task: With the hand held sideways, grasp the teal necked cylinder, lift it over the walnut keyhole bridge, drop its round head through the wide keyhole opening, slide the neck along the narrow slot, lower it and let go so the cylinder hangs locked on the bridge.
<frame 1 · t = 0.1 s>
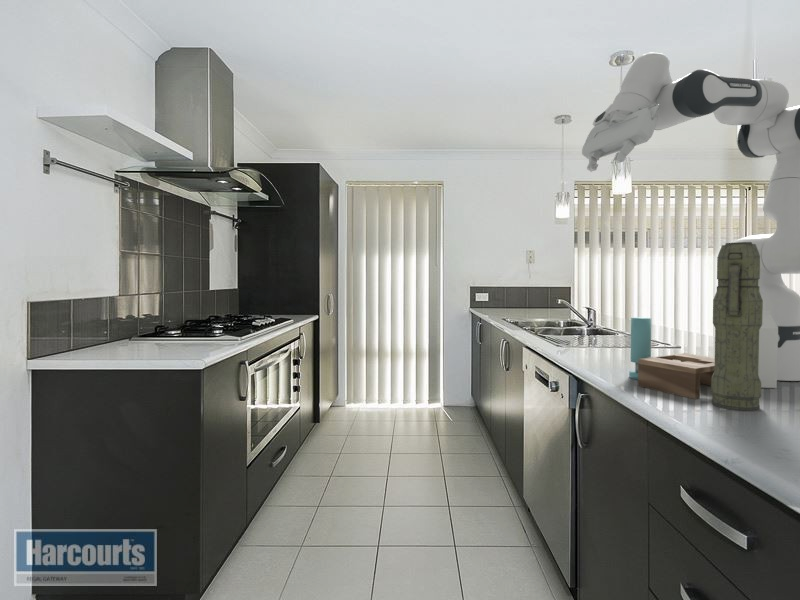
hand: (604, 165, 117), 54 cm above the countertop, tool tilted 30°, fingers open, 8 cm apart
teal necked cylinder: (640, 377, 136), on the countertop
keyhole bridge: (689, 388, 123), on the countertop
milk carton: (753, 385, 126), on the countertop
thermos: (735, 406, 107), on the countertop
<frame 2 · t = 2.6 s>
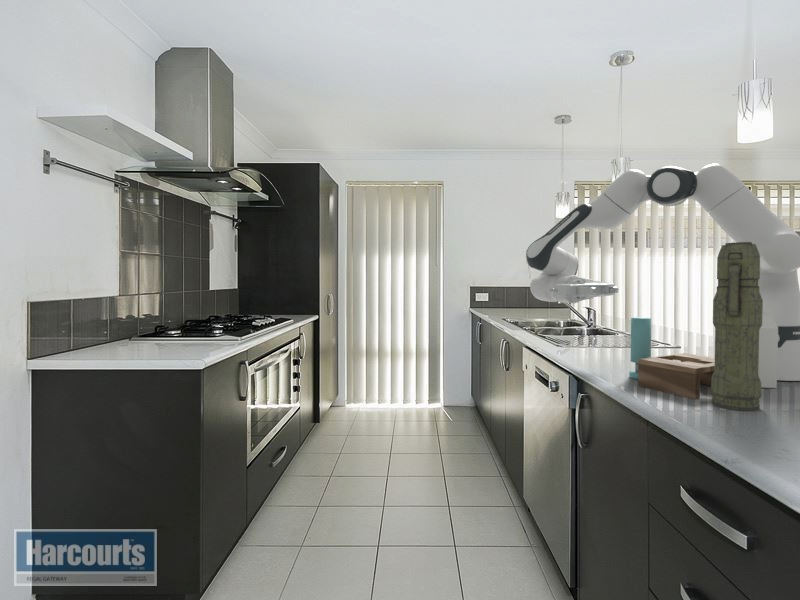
hand: (605, 290, 146), 24 cm above the countertop, tool horizontal, fingers open, 8 cm apart
nothing on the countertop moved.
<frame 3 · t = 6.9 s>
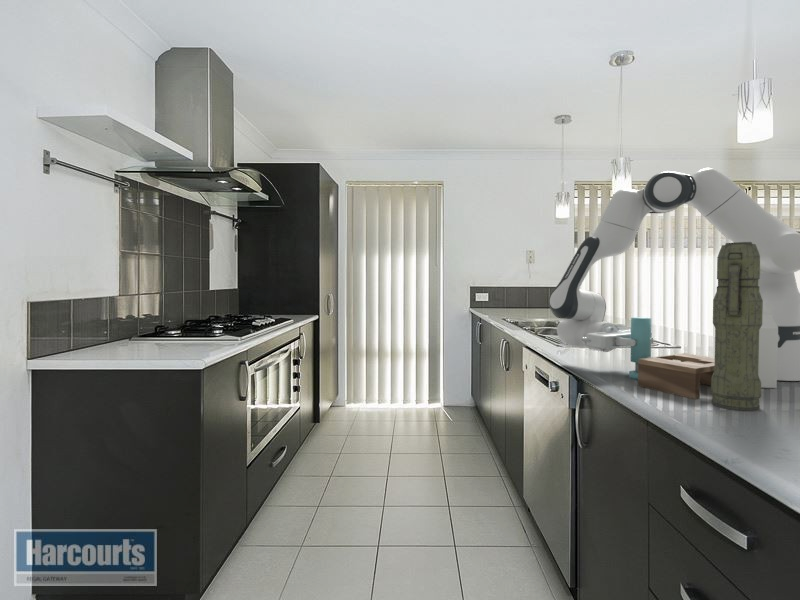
hand: (643, 342, 135), 10 cm above the countertop, tool horizontal, fingers closed on teal necked cylinder, 5 cm apart
teal necked cylinder: (640, 377, 136), on the countertop, touching gripper
everything else where it was.
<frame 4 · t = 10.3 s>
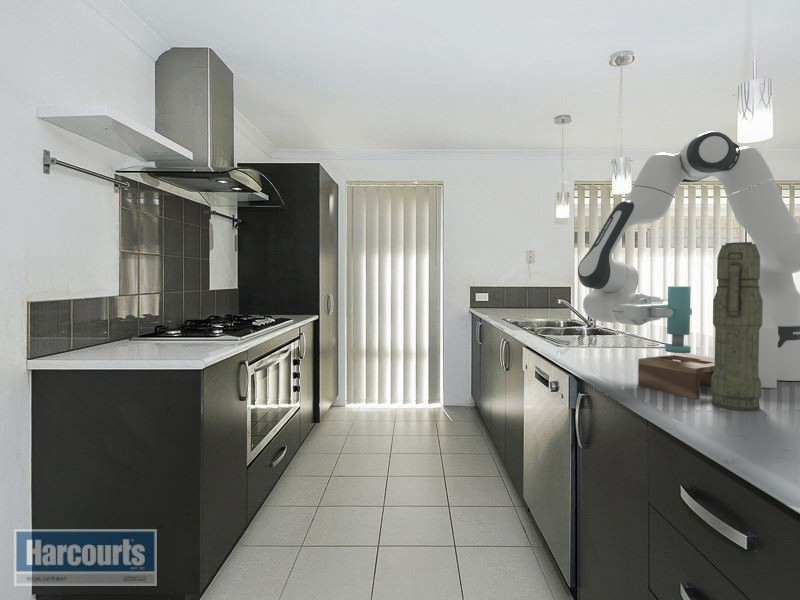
hand: (681, 312, 124), 19 cm above the countertop, tool horizontal, fingers closed on teal necked cylinder, 5 cm apart
teal necked cylinder: (677, 351, 126), point 9 cm above the countertop, touching gripper
everything else where it was.
when the fingers open (13 cm above the countertop, at t = 13.8 s): teal necked cylinder stays where it is, resting on keyhole bridge.
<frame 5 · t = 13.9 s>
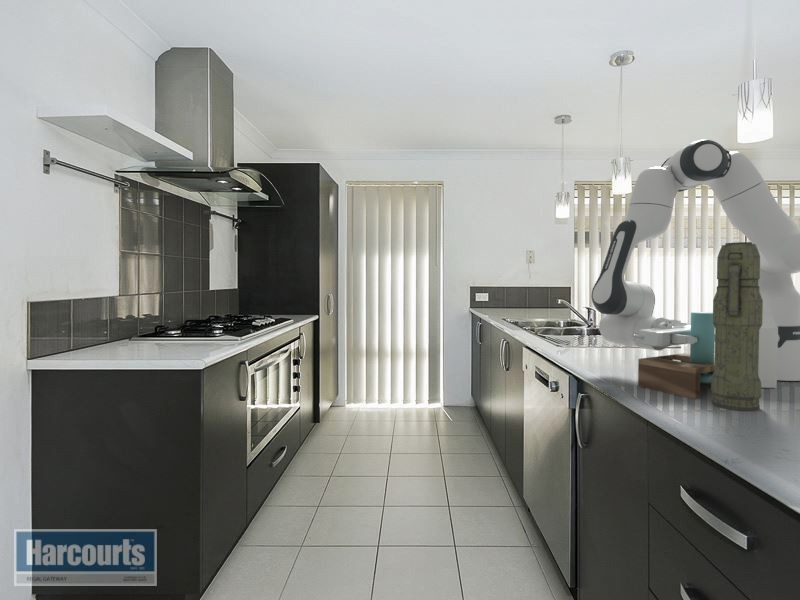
hand: (706, 339, 119), 13 cm above the countertop, tool horizontal, fingers open, 6 cm apart
teal necked cylinder: (701, 380, 120), point 3 cm above the countertop, touching keyhole bridge
everything else where it was.
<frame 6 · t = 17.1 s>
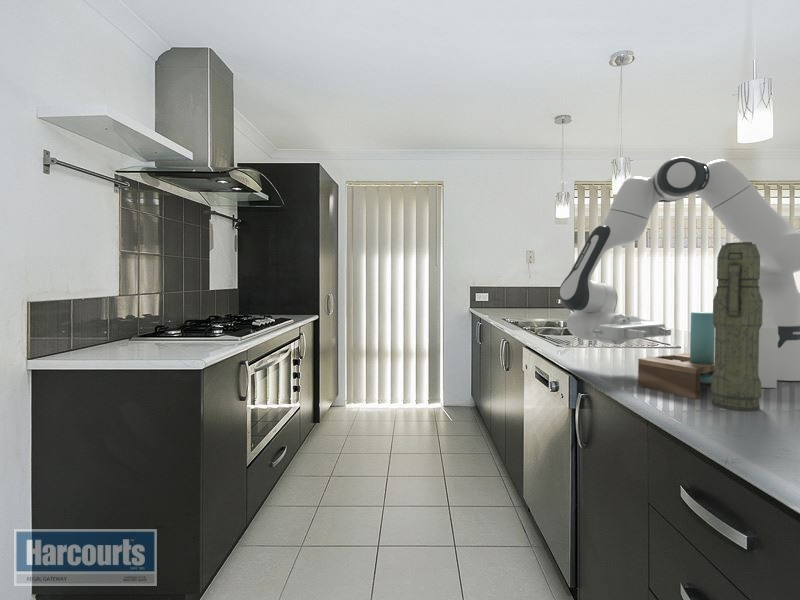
hand: (657, 333, 131), 13 cm above the countertop, tool horizontal, fingers open, 8 cm apart
nothing on the countertop moved.
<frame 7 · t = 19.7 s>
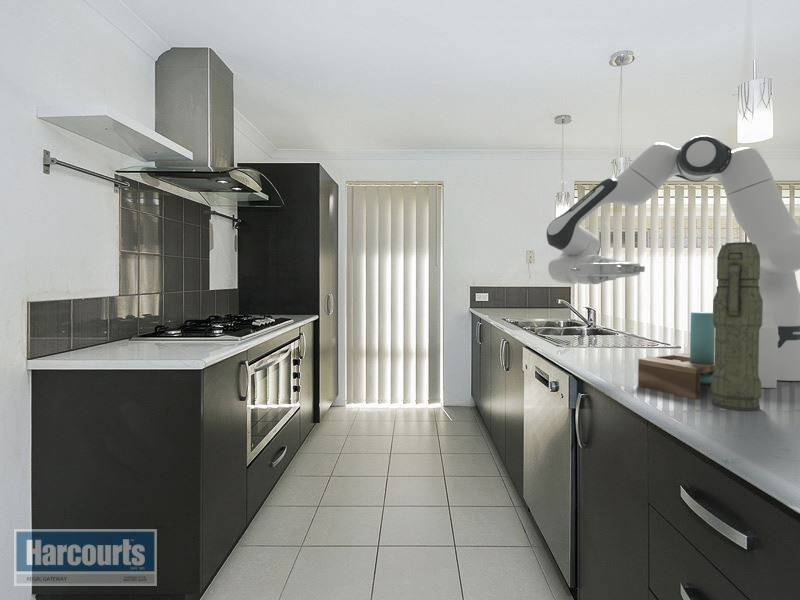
hand: (631, 268, 137), 30 cm above the countertop, tool horizontal, fingers open, 8 cm apart
nothing on the countertop moved.
at the end: teal necked cylinder 0.4 cm from the target spot on the keyhole bridge, point 2.5 cm above the keyhole bridge's base; teal necked cylinder tilted 0°; the gripper is holding nothing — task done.
